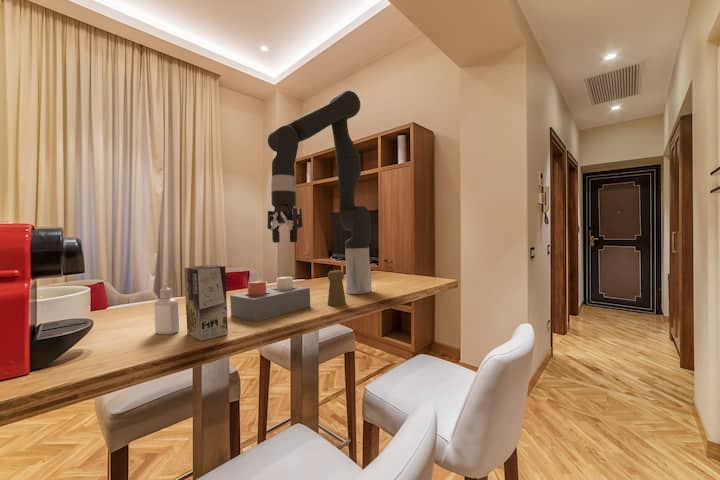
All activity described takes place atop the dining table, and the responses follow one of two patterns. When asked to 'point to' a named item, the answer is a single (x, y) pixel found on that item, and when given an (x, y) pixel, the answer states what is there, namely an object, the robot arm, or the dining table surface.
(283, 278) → the white rounded block
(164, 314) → the eye dropper bottle
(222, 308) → the coffee box
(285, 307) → the console
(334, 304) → the cork
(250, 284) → the red plunger
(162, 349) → the dining table surface
